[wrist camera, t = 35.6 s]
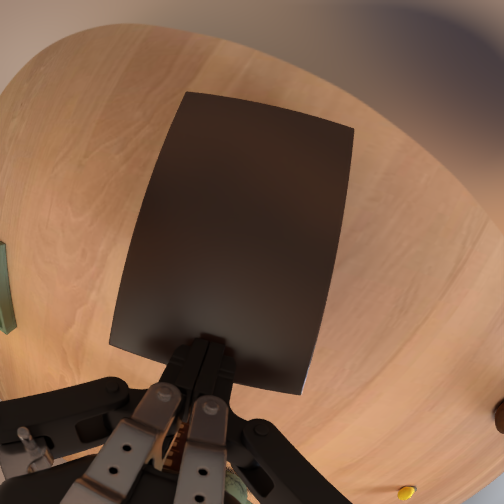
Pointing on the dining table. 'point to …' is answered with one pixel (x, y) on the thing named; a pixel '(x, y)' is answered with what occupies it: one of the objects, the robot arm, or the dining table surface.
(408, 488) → the yellow rounded lump
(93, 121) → the dining table surface
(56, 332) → the dining table surface
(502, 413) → the potato
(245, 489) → the green ceramic domed vessel
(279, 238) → the lid
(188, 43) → the dining table surface
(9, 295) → the tray
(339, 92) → the dining table surface
